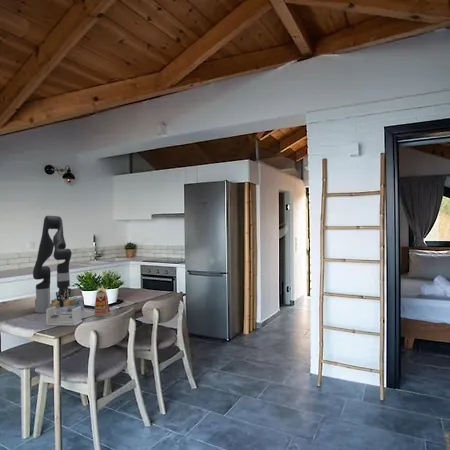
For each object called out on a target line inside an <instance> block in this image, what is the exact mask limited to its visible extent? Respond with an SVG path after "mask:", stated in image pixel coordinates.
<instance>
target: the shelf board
mask: <svg viewBox="0 0 450 450" xmlns="http://www.w3.org/2000/svg"><path fill="white" fill-rule="evenodd" d="M50 304H51V306H60V302H59V301H57V298H54V299H52V300H51V299H50ZM74 304H76V299H63V305H64V306H67V305H74Z"/></svg>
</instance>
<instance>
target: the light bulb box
mask: <svg viewBox="0 0 450 450" xmlns="http://www.w3.org/2000/svg"><path fill="white" fill-rule="evenodd" d="M69 299H76V304H74V305H66V307H67V308H66V309H67V312H66V313H72V309H75V308H77V307H79V306H81V312H83V311H84V305H85V304H84V301H85V299H84V295H74V296H70V297H69Z"/></svg>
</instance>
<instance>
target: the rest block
mask: <svg viewBox="0 0 450 450" xmlns="http://www.w3.org/2000/svg"><path fill="white" fill-rule="evenodd" d="M59 315H72V313H67V312H64V311H63V312H60V313H59Z"/></svg>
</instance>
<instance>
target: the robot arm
mask: <svg viewBox="0 0 450 450" xmlns="http://www.w3.org/2000/svg"><path fill="white" fill-rule="evenodd" d="M63 225H64V224H63V219H62V217H61V216H59V215H46V216H45V217H44V219H43V224H42V233H41V238H40V243H39V246H38V250H37V251H38V252H37V257H36V261H35V263H34V264H35V265H34V267H33V270H32V277H33V279H34V280H37V281H38V280H42V281H41V282H39V283H37V284H35V298H34V313H38V314H40V313H41V314H43V313H46V309H49V308H51V274H52V272H51V268H50V266H48V265H44V263H45V262H46V261H47V260H49V259H50V257H51V256H52V254H53V258H54V260H55V261H56V260H57V261H63V262H61V263H58V264H57V265H56V287H57V288H58V291H55V296H56V299H57V301H59V302H60V305H59V308H64V306H65V305H63V299H69V298H71V292H72V288H70V286H71V285H70V284H71V283H70V280H71V276H70V261H71V258H72V255H73V254H72V253H73V252H72V250H71V249H70V248H67V243H66V240H65V236H64V226H63ZM49 230H57V231H56V232H55V234H54V235H53V238H52V237H51V236H50V233H49Z"/></svg>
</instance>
